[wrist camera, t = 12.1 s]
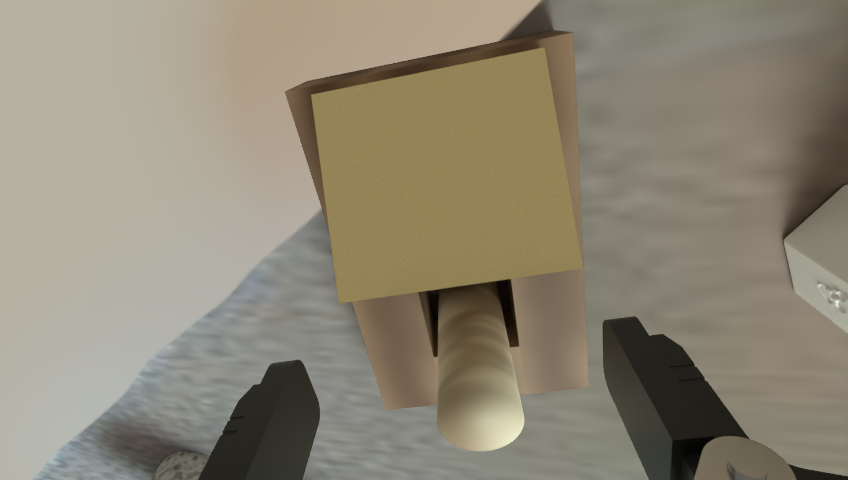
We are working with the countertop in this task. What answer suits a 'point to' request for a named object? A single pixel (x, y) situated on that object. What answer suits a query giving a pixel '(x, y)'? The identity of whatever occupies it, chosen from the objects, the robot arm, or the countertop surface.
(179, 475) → the mug
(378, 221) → the latch flap
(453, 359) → the peg
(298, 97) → the block
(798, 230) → the jar
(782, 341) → the countertop surface
